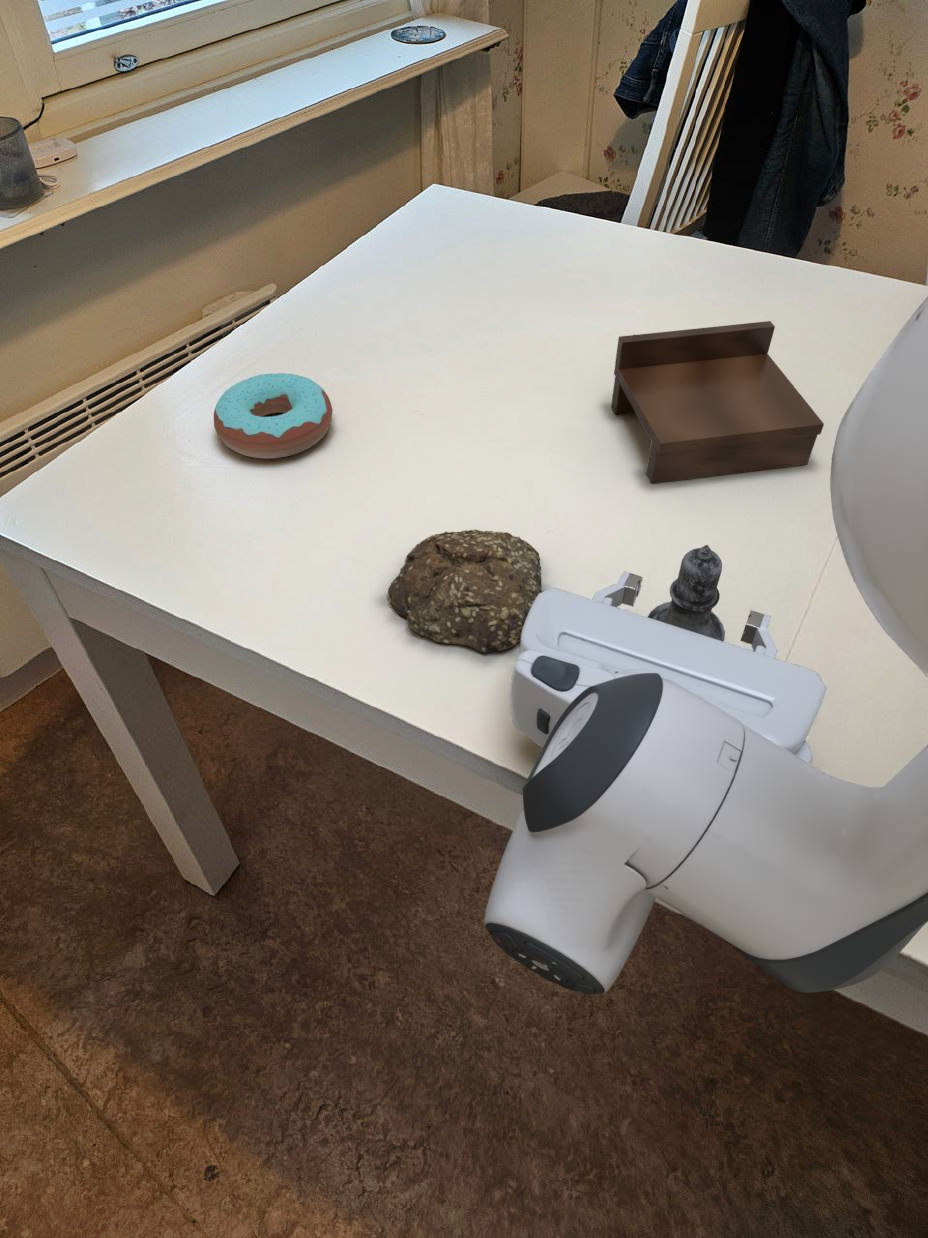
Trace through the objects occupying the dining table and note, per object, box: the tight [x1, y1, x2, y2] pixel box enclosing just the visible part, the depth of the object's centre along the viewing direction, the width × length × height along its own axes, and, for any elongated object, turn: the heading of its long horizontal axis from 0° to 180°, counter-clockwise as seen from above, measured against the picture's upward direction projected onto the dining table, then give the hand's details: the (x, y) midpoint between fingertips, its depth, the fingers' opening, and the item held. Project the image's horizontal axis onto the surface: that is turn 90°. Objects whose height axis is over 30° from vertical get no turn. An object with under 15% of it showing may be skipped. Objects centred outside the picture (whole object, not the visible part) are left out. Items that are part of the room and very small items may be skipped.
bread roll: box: [387, 529, 543, 654], centre depth 71 cm, size 13×12×5 cm
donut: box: [213, 372, 333, 460], centre depth 88 cm, size 12×12×4 cm
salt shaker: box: [647, 544, 726, 642], centre depth 64 cm, size 6×6×12 cm
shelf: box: [610, 320, 825, 485], centre depth 86 cm, size 16×14×8 cm
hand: (694, 599), depth 64 cm, fingers open, 8 cm apart
